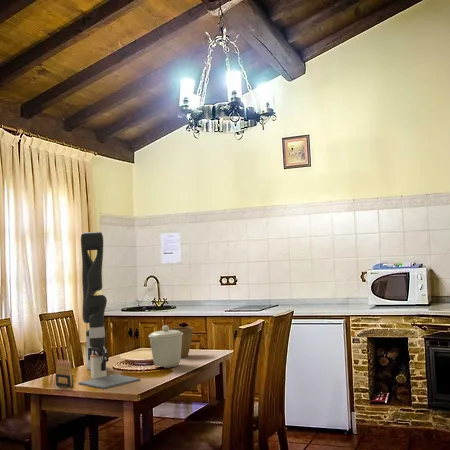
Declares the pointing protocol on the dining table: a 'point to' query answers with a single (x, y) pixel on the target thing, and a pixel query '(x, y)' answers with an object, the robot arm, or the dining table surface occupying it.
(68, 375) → the ammunition clip
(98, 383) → the rubber mat
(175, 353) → the canister
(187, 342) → the plant pot
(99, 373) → the cream block
